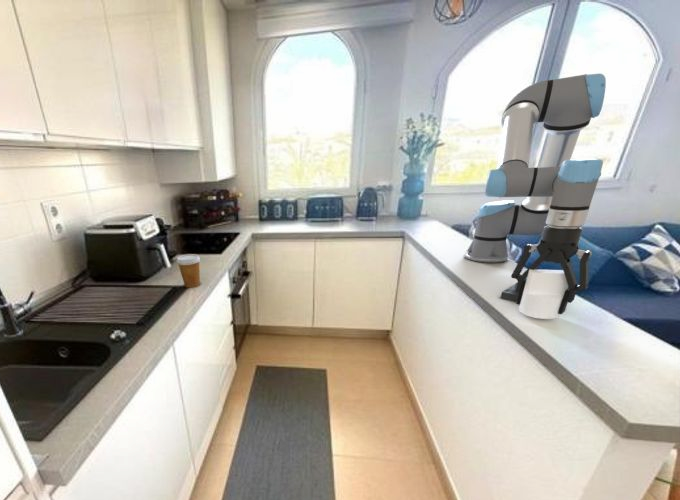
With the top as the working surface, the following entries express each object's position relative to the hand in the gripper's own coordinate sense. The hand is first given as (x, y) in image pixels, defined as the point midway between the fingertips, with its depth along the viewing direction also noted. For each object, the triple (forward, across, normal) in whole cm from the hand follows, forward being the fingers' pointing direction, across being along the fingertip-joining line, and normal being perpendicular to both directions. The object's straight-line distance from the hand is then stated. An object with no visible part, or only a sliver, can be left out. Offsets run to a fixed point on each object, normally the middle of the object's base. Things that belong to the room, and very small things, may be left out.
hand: (539, 307), depth 96 cm
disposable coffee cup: (+3, -103, -57) cm, 118 cm away
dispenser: (+3, -7, +13) cm, 15 cm away
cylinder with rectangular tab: (+2, 0, 0) cm, 2 cm away
